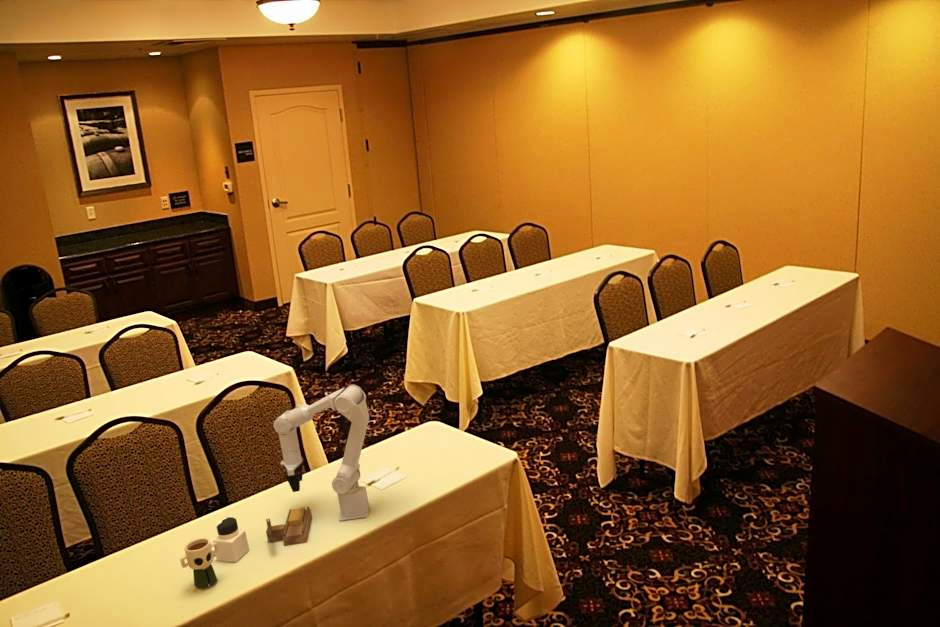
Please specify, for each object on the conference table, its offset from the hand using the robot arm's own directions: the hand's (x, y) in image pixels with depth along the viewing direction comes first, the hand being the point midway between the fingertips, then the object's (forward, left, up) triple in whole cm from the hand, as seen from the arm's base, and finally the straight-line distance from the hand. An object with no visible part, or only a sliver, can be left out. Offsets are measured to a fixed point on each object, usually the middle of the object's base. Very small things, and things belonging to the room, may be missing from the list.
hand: (297, 485), depth 259 cm
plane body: (+3, +12, -10) cm, 16 cm away
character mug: (+24, +35, -10) cm, 44 cm away
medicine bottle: (+19, +21, -10) cm, 30 cm away
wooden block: (0, +10, -7) cm, 12 cm away
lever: (+7, +20, -6) cm, 22 cm away
